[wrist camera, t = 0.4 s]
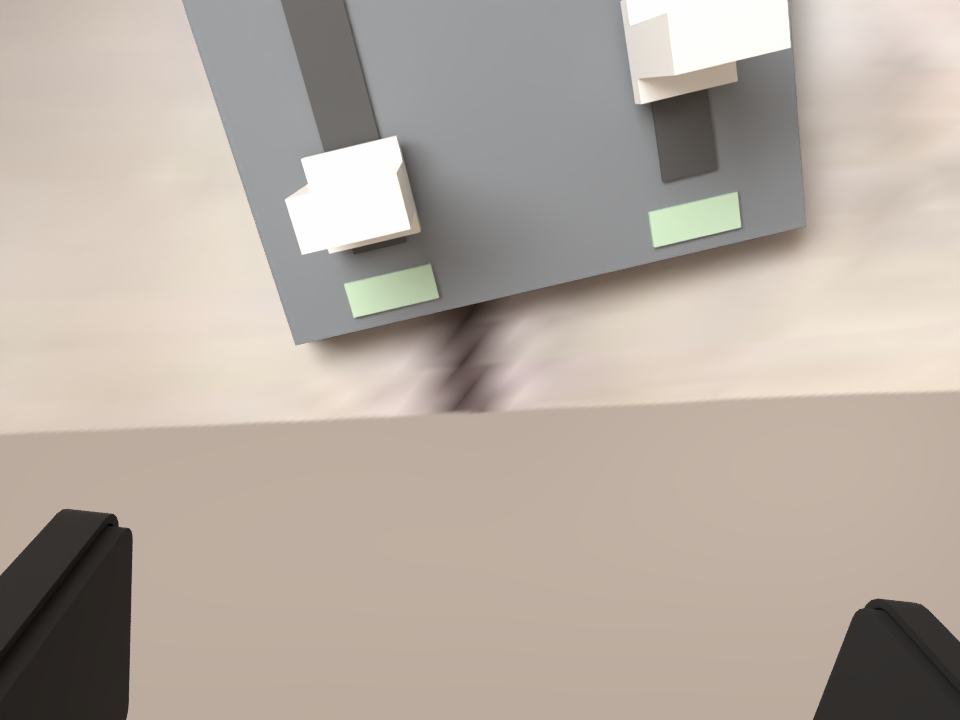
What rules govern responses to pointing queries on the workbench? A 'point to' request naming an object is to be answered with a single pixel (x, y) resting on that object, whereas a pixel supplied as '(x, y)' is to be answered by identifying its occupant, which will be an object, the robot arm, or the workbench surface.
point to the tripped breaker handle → (697, 42)
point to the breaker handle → (353, 198)
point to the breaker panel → (489, 147)
